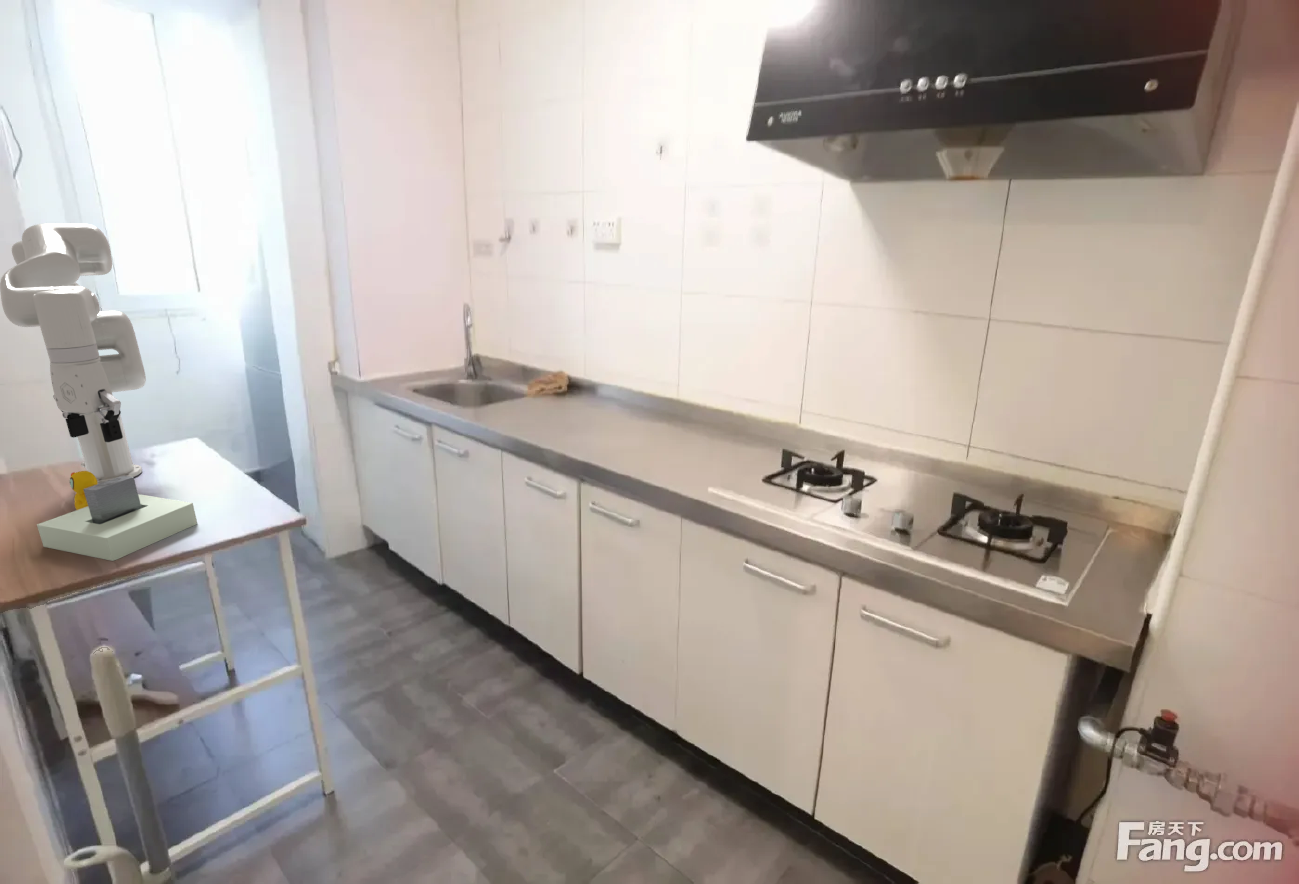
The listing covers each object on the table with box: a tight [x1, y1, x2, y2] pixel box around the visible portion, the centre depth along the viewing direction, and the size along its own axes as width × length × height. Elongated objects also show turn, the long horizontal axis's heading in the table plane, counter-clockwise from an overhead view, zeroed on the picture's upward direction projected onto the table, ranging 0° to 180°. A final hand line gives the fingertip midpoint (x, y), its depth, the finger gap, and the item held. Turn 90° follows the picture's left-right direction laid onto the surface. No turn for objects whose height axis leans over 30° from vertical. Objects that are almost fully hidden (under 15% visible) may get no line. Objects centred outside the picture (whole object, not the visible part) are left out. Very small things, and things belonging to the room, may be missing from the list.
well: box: [36, 493, 198, 562], centre depth 140 cm, size 20×18×5 cm
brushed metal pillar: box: [83, 476, 142, 524], centre depth 139 cm, size 3×8×12 cm, turn 163°
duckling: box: [69, 470, 98, 511], centre depth 150 cm, size 11×5×10 cm, turn 59°
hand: (96, 437), depth 135 cm, fingers open, 9 cm apart
